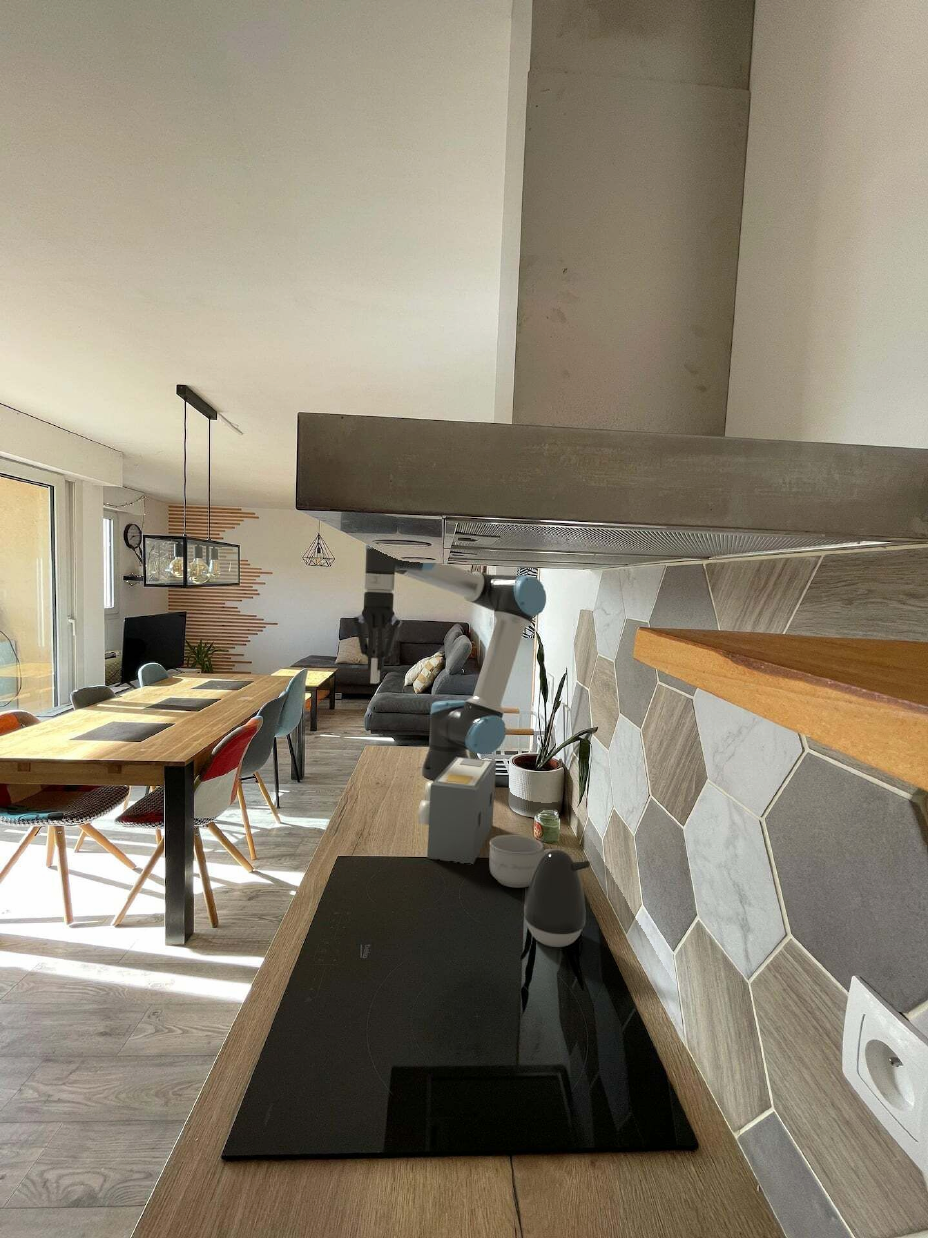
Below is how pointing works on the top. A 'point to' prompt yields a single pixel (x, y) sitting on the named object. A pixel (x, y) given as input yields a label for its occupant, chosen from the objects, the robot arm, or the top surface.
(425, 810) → the marked button
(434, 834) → the box
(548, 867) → the pump dispenser
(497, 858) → the teacup
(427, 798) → the unmarked button
